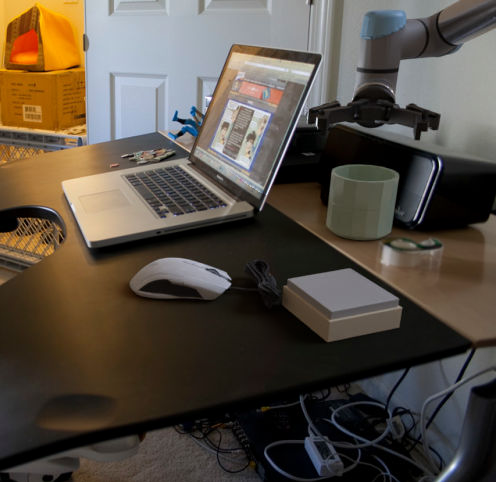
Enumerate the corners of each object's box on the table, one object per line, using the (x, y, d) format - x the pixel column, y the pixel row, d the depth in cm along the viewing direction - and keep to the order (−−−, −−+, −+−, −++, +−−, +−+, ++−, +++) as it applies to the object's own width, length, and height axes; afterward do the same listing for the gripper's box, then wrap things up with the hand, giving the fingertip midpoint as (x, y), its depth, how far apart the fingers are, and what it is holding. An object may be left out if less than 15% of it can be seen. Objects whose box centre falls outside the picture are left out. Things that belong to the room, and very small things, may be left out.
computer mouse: (133, 272, 85) (133, 244, 84) (273, 276, 82) (275, 248, 80) (124, 307, 76) (123, 277, 74) (281, 314, 73) (284, 283, 71)
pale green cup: (390, 223, 98) (398, 166, 94) (390, 245, 90) (399, 184, 87) (328, 217, 101) (334, 162, 98) (323, 238, 93) (329, 179, 90)
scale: (347, 292, 77) (350, 266, 76) (399, 327, 69) (403, 299, 68) (281, 304, 75) (283, 278, 74) (327, 342, 67) (330, 313, 66)
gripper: (445, 127, 113) (456, 158, 95) (300, 121, 123) (285, 148, 105) (453, 85, 110) (465, 108, 93) (304, 81, 120) (289, 102, 102)
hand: (370, 129), depth 99 cm, fingers open, 13 cm apart
